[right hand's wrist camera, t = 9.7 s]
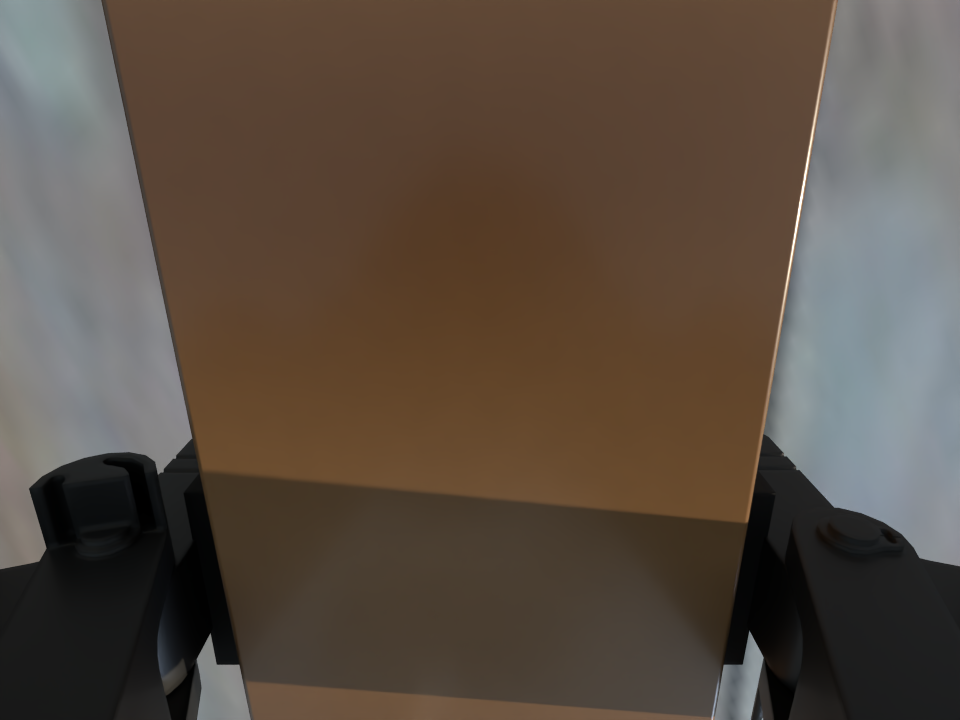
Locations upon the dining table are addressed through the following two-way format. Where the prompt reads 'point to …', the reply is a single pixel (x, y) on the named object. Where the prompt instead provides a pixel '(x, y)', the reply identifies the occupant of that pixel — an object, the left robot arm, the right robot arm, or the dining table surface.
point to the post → (475, 332)
